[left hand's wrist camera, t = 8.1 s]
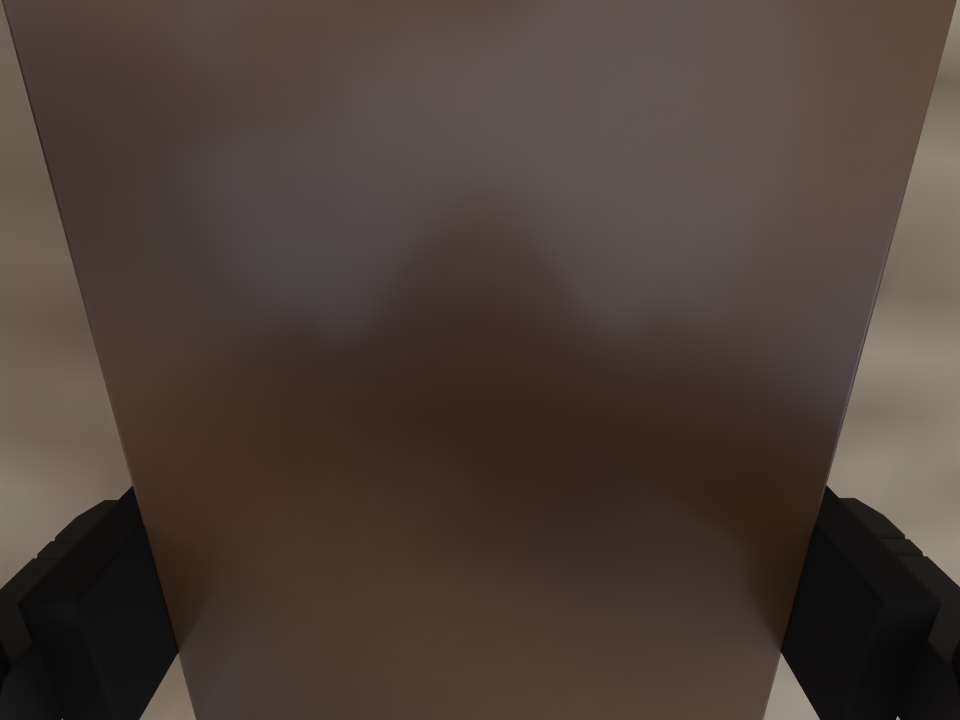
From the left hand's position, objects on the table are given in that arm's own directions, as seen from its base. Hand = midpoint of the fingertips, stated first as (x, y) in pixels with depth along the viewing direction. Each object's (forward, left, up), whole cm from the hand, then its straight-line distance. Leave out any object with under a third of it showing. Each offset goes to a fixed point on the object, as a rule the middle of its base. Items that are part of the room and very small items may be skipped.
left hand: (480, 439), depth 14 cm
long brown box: (0, +5, -6) cm, 8 cm away
